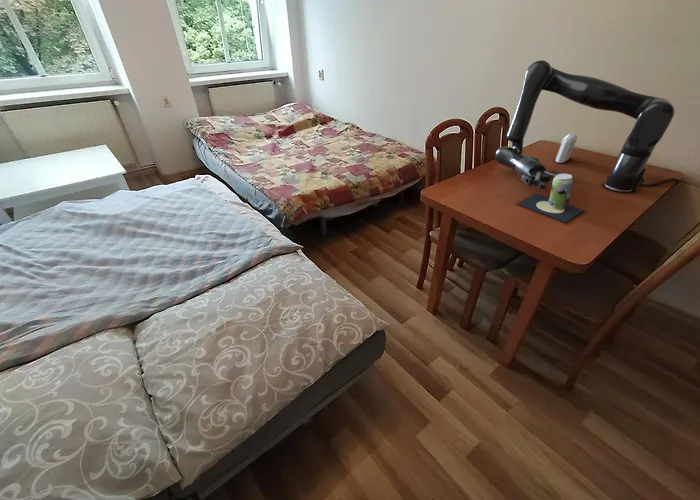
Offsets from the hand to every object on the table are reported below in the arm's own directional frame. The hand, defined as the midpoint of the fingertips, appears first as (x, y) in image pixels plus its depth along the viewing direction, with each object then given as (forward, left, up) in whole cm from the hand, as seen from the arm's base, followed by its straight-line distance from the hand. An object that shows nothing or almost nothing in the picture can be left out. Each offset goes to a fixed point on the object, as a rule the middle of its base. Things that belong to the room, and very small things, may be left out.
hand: (555, 186), depth 116 cm
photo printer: (-23, -51, -8) cm, 57 cm away
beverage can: (-2, 0, -8) cm, 8 cm away
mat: (0, +1, -8) cm, 8 cm away
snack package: (-3, -34, -8) cm, 35 cm away
